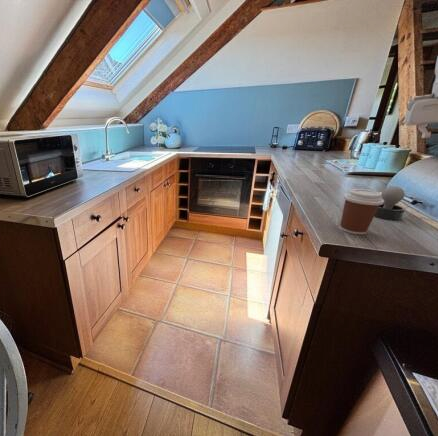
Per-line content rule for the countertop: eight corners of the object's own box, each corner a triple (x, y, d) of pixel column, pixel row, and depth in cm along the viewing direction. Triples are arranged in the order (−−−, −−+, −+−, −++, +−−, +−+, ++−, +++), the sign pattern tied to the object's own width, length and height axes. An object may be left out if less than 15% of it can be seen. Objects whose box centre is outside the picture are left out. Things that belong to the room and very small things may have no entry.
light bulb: (387, 212, 86) (398, 184, 82) (400, 218, 81) (412, 189, 77) (370, 211, 87) (380, 184, 83) (382, 217, 82) (393, 188, 78)
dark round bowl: (393, 213, 86) (397, 204, 85) (405, 221, 79) (409, 211, 78) (366, 210, 89) (369, 201, 87) (375, 218, 82) (379, 208, 81)
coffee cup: (378, 232, 72) (393, 193, 68) (361, 238, 69) (376, 198, 64) (344, 221, 80) (356, 186, 75) (327, 227, 76) (338, 190, 72)
